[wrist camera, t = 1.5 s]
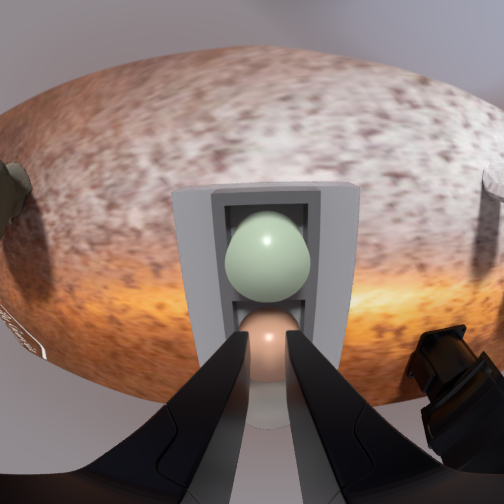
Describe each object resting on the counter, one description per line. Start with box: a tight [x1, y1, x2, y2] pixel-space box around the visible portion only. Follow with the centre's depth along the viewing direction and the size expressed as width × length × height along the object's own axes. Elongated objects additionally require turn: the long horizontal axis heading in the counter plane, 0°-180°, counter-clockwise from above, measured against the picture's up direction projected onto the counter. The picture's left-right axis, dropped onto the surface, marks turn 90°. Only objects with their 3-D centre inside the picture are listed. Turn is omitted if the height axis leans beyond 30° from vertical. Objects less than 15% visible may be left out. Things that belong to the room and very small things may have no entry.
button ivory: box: [245, 379, 290, 430], centre depth 18 cm, size 4×4×3 cm
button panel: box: [171, 182, 360, 370], centre depth 20 cm, size 12×18×4 cm, turn 3°
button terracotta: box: [239, 307, 300, 383], centre depth 16 cm, size 4×4×3 cm
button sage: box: [225, 211, 310, 303], centre depth 14 cm, size 4×4×3 cm
